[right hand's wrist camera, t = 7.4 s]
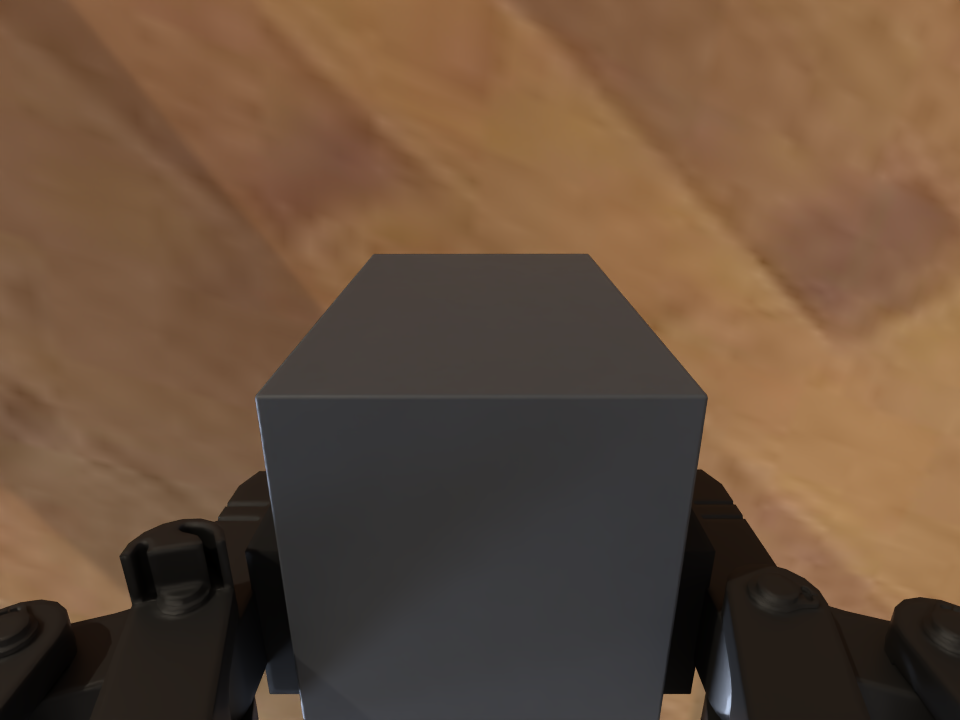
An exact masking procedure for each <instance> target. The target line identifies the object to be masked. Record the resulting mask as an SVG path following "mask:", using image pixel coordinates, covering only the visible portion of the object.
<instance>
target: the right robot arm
mask: <svg viewBox="0 0 960 720" xmlns="http://www.w3.org/2000/svg"><path fill="white" fill-rule="evenodd" d="M119 557H120V560H121V564H122V568H123V571H124V575H125V579H126V583H127V586H128V590H129V594H130V597H131V601H132V607H131V609H128V610H125V611H122V612H118V613H115V614H110V615H106V616H102V617H97V618H93V619H89V620H84V621H80V622H76V623H70V619H69V616H68V613H67V610H66V609H65V608H64V607H63V606H61V605H60V604H59V603H58V602H54V601H47V600H35V601H27V602H20V603H18V604H15V605H12V606H9V607H6V608H3V609H0V720H258V712H257V706H256V700H255V693H256V691H257V688H258V686H259V683H260V681H261V678H262V676H263V673H264V671H265V669H266V675H267V681H268V686H269V692H270V694H300V693H299V686H298V680H297V673H296V667H295V660H294V653H293V647H292V640H291V633H290V627H289V620H288V613H287V607H286V600H285V593H284V587H283V580H282V573H281V567H280V560H279V554H278V547H277V540H276V534H275V527H274V520H273V514H272V507H271V500H270V494H269V487H268V480H267V474H266V471H259V472H258V473H256V474H255V475H254V476H252V477H251V478H250V479H248V480H247V481H245V482H244V483H243V484H241V485H240V486H239V487H238V488H237V490H236V491H235V493H234V494H233V496H232V497H231V499H230V500H229V502H228V506H227V507H225V508H224V509H223V511H222V512H221V514H220V515H219V517H218V521H215V522H212V521H208V520H204V519H182V520H177V521H173V522H169V523H165V524H162V525H160V526H157V527H155V528H153V529H151V530H148V531H146V532H144V533H143V534H141V535H140V536H139V537H137V538H136V539H134V540H133V541H132V542H130V543H129V544H128V545H127V547H126V548H125V549H124V551H123V552H122V553H121V555H120V556H119ZM695 667H696V669H697V672H698V674H699V677H700V679H701V682H702V684H703V687H704V689H705V692H706V695H705V700H704V706H703V711H702V716H701V720H960V606H957V605H954V604H951V603H948V602H945V601H942V600H937V599H929V598H922V597H918V598H912V599H905V600H903V601H902V602H901V603H899V604H898V605H897V606H896V607H895V609H894V612H893V615H892V618H891V621H887V620H883V619H878V618H874V617H869V616H865V615H861V614H856V613H852V612H847V611H844V610H840V609H837V608H834V607H830V606H828V603H827V602H826V600H825V599H824V597H823V596H822V594H821V593H820V591H819V590H818V589H817V588H815V587H814V586H813V585H812V584H811V583H809V582H808V581H807V580H806V579H805V578H803V577H801V576H799V575H797V574H795V573H793V572H791V571H789V570H787V569H783V568H780V567H777V566H776V564H775V563H774V561H773V560H772V558H771V557H770V555H769V554H768V552H767V551H766V549H765V548H764V546H763V545H762V543H761V542H760V540H759V539H758V538H757V536H756V535H755V533H754V532H753V530H752V529H751V527H750V526H749V524H748V523H747V521H746V520H745V519H743V515H742V514H741V512H740V511H739V509H738V508H737V506H736V505H733V500H732V499H731V497H730V496H729V494H728V493H727V491H726V490H725V488H724V487H723V485H722V484H721V483H719V482H718V481H717V480H715V479H714V478H712V477H711V476H710V475H708V474H707V473H705V472H704V471H703V470H697V473H696V479H695V486H694V493H693V499H692V506H691V512H690V519H689V526H688V532H687V539H686V546H685V552H684V559H683V566H682V572H681V579H680V586H679V592H678V599H677V606H676V612H675V619H674V626H673V632H672V639H671V646H670V652H669V659H668V666H667V672H666V679H665V686H664V692H663V694H691V689H692V683H693V677H694V672H695Z"/></svg>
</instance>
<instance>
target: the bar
mask: <svg viewBox="0 0 960 720" xmlns="http://www.w3.org/2000/svg"><path fill="white" fill-rule="evenodd" d="M707 399H708V397H707V395H706V393H705V392H704V391H703V390H702V389H701V387H700V386H699V385H698V384H697V383H696V381H695V380H694V379H693V378H692V377H691V376H690V374H689V373H688V372H687V371H686V370H685V368H684V367H683V366H682V365H681V364H680V362H679V361H678V360H677V359H676V358H675V356H674V355H673V354H672V353H671V352H670V351H669V349H668V348H667V347H666V346H665V345H664V343H663V342H662V341H661V340H660V339H659V337H658V336H657V335H656V334H655V333H654V332H653V330H652V329H651V328H650V327H649V326H648V324H647V323H646V322H645V321H644V320H643V318H642V317H641V316H640V315H639V314H638V313H637V311H636V310H635V309H634V308H633V307H632V305H631V304H630V303H629V302H628V301H627V299H626V298H625V297H624V296H623V295H622V294H621V292H620V291H619V290H618V289H617V288H616V286H615V285H614V284H613V283H612V282H611V280H610V279H609V278H608V277H607V276H606V275H605V273H604V272H603V271H602V270H601V269H600V267H599V266H598V265H597V264H596V263H595V261H594V260H593V259H592V258H591V257H590V256H589V254H374V255H372V257H371V258H370V259H369V260H368V261H367V263H366V264H365V265H364V266H363V267H362V269H361V270H360V271H359V272H358V273H357V275H356V276H355V277H354V278H353V279H352V281H351V282H350V283H349V284H348V285H347V287H346V288H345V289H344V290H343V291H342V293H341V294H340V295H339V296H338V297H337V299H336V300H335V301H334V302H333V303H332V305H331V306H330V307H329V308H328V309H327V311H326V312H325V313H324V314H323V315H322V317H321V318H320V319H319V320H318V321H317V323H316V324H315V325H314V326H313V327H312V329H311V330H310V331H309V332H308V333H307V335H306V336H305V337H304V338H303V339H302V341H301V342H300V343H299V344H298V345H297V347H296V348H295V349H294V350H293V351H292V353H291V354H290V355H289V356H288V357H287V359H286V360H285V361H284V362H283V363H282V365H281V366H280V367H279V368H278V369H277V371H276V372H275V373H274V374H273V375H272V377H271V378H270V379H269V380H268V381H267V383H266V384H265V385H264V386H263V387H262V389H261V390H260V391H259V392H258V393H257V395H256V397H255V401H256V407H257V414H258V421H259V427H260V434H261V440H262V447H263V454H264V460H265V467H266V474H267V480H268V487H269V494H270V500H271V507H272V514H273V520H274V527H275V534H276V540H277V547H278V554H279V560H280V567H281V573H282V580H283V587H284V593H285V600H286V607H287V613H288V620H289V627H290V633H291V640H292V647H293V653H294V660H295V667H296V673H297V680H298V686H299V693H300V700H301V706H302V713H303V720H659V719H660V712H661V706H662V699H663V692H664V686H665V679H666V672H667V666H668V659H669V652H670V646H671V639H672V632H673V626H674V619H675V612H676V606H677V599H678V592H679V586H680V579H681V572H682V566H683V559H684V552H685V546H686V539H687V532H688V526H689V519H690V512H691V506H692V499H693V493H694V486H695V479H696V473H697V466H698V459H699V453H700V446H701V439H702V433H703V426H704V419H705V413H706V406H707Z"/></svg>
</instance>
